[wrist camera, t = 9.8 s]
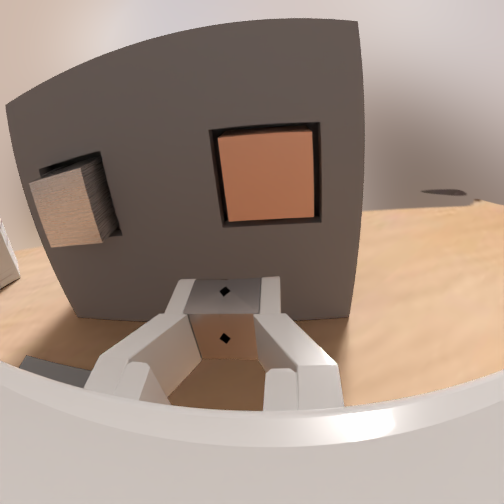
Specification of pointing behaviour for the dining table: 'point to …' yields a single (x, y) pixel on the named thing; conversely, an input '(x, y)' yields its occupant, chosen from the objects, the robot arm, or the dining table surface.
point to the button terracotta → (268, 172)
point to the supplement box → (7, 260)
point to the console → (203, 163)
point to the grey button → (75, 204)
